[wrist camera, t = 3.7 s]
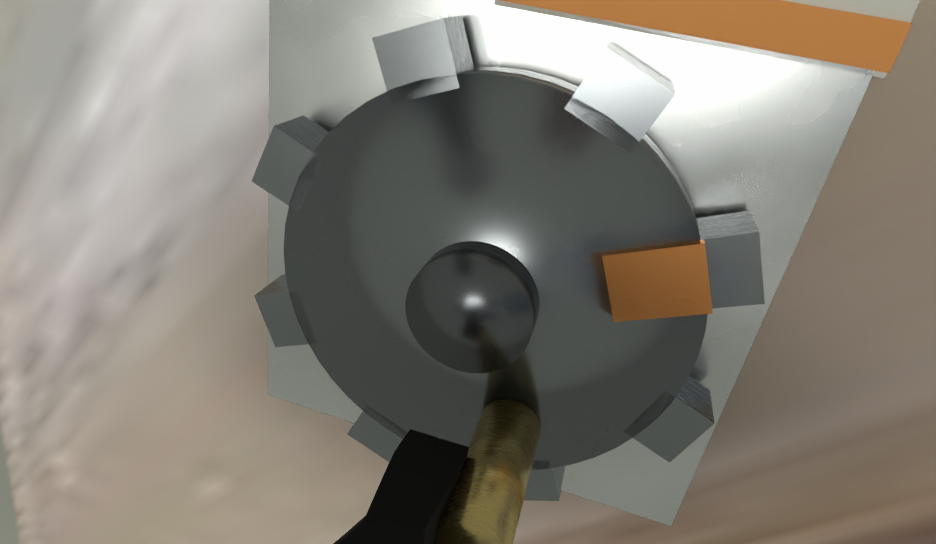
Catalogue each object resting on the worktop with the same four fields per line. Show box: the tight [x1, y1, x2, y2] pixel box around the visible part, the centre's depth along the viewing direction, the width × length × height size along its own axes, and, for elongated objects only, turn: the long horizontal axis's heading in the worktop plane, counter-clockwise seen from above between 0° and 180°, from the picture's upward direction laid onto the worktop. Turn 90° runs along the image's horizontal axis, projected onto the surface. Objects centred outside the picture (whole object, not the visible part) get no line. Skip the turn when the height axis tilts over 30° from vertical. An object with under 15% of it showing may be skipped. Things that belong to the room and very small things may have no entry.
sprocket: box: [252, 16, 765, 544], centre depth 12 cm, size 11×11×5 cm
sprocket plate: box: [268, 0, 875, 526], centre depth 14 cm, size 12×12×1 cm
